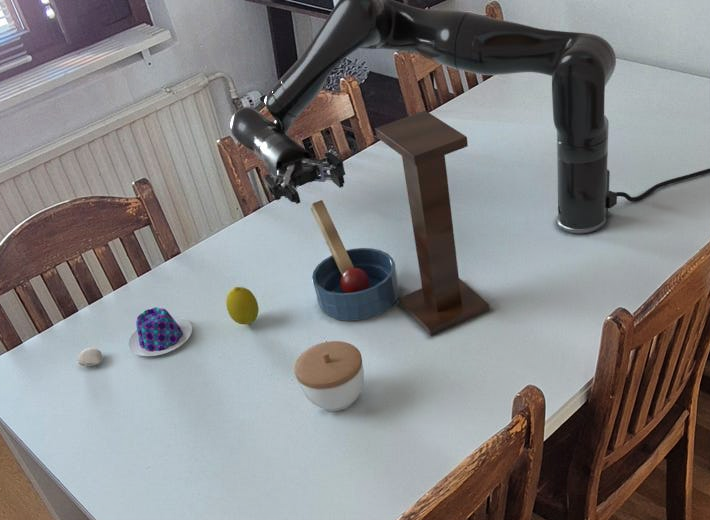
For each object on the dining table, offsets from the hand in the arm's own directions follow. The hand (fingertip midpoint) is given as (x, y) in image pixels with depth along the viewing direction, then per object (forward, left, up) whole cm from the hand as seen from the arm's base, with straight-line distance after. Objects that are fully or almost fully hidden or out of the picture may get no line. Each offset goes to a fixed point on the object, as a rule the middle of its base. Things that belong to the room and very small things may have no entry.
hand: (319, 190), depth 144 cm
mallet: (+1, +2, -12) cm, 12 cm away
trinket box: (+23, +27, -18) cm, 40 cm away
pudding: (+33, -13, -18) cm, 40 cm away
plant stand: (-5, +24, -18) cm, 30 cm away
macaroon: (+45, -17, -18) cm, 52 cm away
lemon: (+20, -3, -18) cm, 27 cm away
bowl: (+2, +8, -18) cm, 20 cm away
